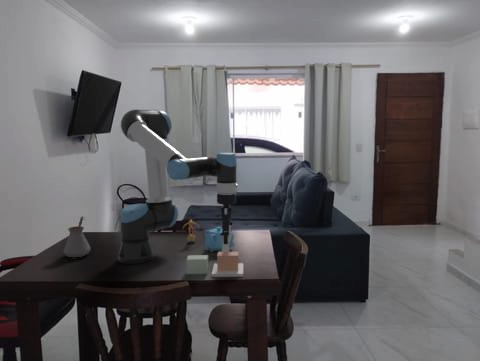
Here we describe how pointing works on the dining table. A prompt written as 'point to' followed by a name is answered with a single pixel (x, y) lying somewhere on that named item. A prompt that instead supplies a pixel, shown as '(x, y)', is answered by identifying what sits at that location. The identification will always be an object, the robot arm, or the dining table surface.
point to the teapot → (216, 239)
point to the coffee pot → (76, 242)
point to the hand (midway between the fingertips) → (226, 246)
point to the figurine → (191, 237)
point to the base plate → (227, 272)
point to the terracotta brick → (227, 261)
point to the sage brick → (197, 264)
